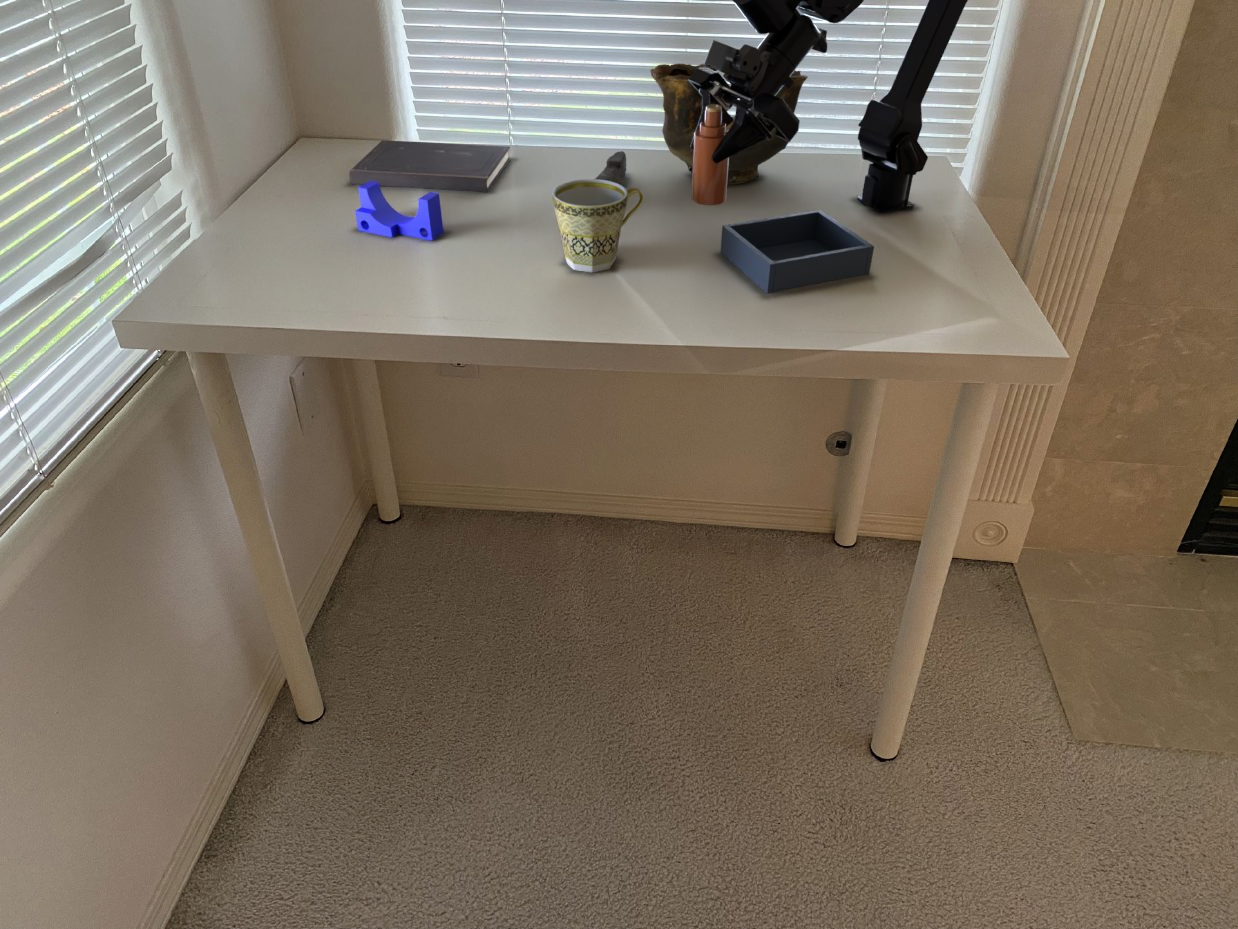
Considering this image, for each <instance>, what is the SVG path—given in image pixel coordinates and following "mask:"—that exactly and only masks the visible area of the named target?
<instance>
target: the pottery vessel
mask: <svg viewBox="0 0 1238 929" xmlns="http://www.w3.org/2000/svg"><path fill="white" fill-rule="evenodd" d="M737 49H738V50H740V48H737ZM701 67H706V68H709V69H711V70H713V71H716V72H718V70H716V69H715V68H714V67H712V66H711V67H708V66H705V65H704V62H703V63H700V64H697V65H692V64H689V63H688V64H686V63H672V64H666V63H663V64H658V65H656V66H655V67H654V68H651V69H650V75H651V77H652V78H653V80H654V81H655V83H656V84H657V85H658V87H659V89H660V90H661V93H662V96H663V97H662V98H663V99H662V101H663V102H662V108H663V111H664V120H663V125H662V130H661V131H662V135H663V139H664V141H665V144H666V147H667V148H668V150H669V151H670V153H671V154H672V155H673V156H675V157H677V158H678V159H679V160H680V161H681V162H684V163H685V164H686V166H687V170H688V171H689V172H690V173H691V175H693V154H694V151H693V150H692V149H691V148H690V145H691V143H692V140H693V137H694V133H695V131H696V128H697V126H698V123H699V120H700V117H701V113H702V109H703V102H702V96H701V95H700V94H699V92H698V91H697V90H696V88H695V87H694V86H693V85H692V84H691V83H690V82H689V78H690V77H691V76H692V74H693V73H694V72H695V70H696V69H697V68H701ZM801 71H802V70H797V71H796V70H795V71H794V72H793V74H792V75H791V76H790V78H791V79H792V80H793V82H794V83H793V85H792V86H791V87H790V88H786V87H784V86H783V87H782V88H781V89H780V91H779V92H778V93H777V94H776V97H778V98H781V99H783V100H784V102H785V103H786V104H787V105H788V107H789V108H790V109H791V110H792V112H793V113H794V114H795V111H796V108H797V105H798V102H799V97H800V93H801V90H802V87H803V85H804V84H805V82H806V80H807V79H808V75H805V74H803V75H802V74H801ZM731 117H732V118H733V119H734V121H735V115H733V116H731ZM734 121H733V122H732V123H730V124H729V125H728V126H727V127H726V130H727V131H729V129H730V128H731V126H732V125H733V123H734ZM775 128H776V127H775ZM775 128H774V129H773V130H772V131H771V133H770V134H771V136H772V139H771V140H768V139H766V140H763V141H761V142H759V143H757V144H754V145H752V146H750V147H748V148H746V149H744V150H742V151H740V152H738V153H736V154H734V155H732V156H730V157H729V165H728V180H727V185H735V184H736V185H739V184H744V183H748V182H751V181H754V180H755V179H758V178H759V176H760V173H759V165H761V164H763V163H766V162H767V161H769V160H770V159H771V158H773V157H774V156H776V155H777V154H779V153H780V152H782V151H783V150H785V149H786V148H787V146H788V144H789V142H787V141H785V140H783V139H781V138H779V137H777V136H776V135H775Z"/></svg>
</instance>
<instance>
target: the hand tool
mask: <svg viewBox="0 0 1238 929" xmlns="http://www.w3.org/2000/svg"><path fill="white" fill-rule="evenodd" d="M626 172H627V155H626V153H625V151H623V150H621V151H617V152H615V153H614V154H612V155H611V156H609V157H608V158H607V159H606V166H605V167H604V168H603V170H602V171H601V172H600V173H599V174H598V175H597V176H596V177H595V178H594V179H599V180H606V181H611V182H615V183H617V184H620V185H622V186H623V185H624V182H625V181H626V180H625V179H626Z"/></svg>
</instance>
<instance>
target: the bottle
mask: <svg viewBox="0 0 1238 929" xmlns="http://www.w3.org/2000/svg"><path fill="white" fill-rule="evenodd" d="M727 132H728V131H727V130H726V124H725V123H723V122H722V106H720V105H717V104H710V105H707V106H706V110H705V121H704V122H702V123H701V124H700V129H699V130H697V131H696V132H695V133H694V154H693V173H692V176H691V177H692V178H691V179H692V180H691V201H692V202H693V203H695V204H697V205H701V206H718V205H722V204H724V203H725V202H726V201H727V196H728V195H727V194H728V184H727V180H728V165H729V157H728V158H726V159H724V160H723V161H721V162H719V163H714V162H713V161H712V159H711V157H712V155H713V154H714V152H715V150H716V148H717V147H718V145H719V144H720V142H721V141H722V139H723V138H724V136H725V135H726V133H727Z"/></svg>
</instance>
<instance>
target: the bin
mask: <svg viewBox="0 0 1238 929" xmlns="http://www.w3.org/2000/svg"><path fill="white" fill-rule="evenodd" d="M874 249H875V246H874V245H873V244H871V243H870V242H868V240H866V239H864V238H863V237H862V236H860V235H858V234H857V233H856V232H854V231H853V230H851V229H849V228H848V227H847V226H845V225H844V224H842V223H841V222H839V221H838V220H836V219H834V218H833V217H832V216H830V215H828V214H827V213H826V212H824V211H823V210H821V209H816V210H810V211H804V212H803V211H802V212H798V213H797V212H796V213H791V214H785V215H778V216H774V217H773V216H772V217H767V218H760V219H753V220H748V221H742V222H735V223H731V224H722V226H721V240H720V254H721V255H722V256H723V257H725V258H726V259H727V260H728V261H729V262H730V263H731V264H732V265H734V266H735V267H736V268H737V269H738V270H739V271H741V273H743V274H744V275H745V276H747V278H749V280H751V281H752V282H753V283H755V285H757V286H758V287H759V288H760V289H761V290H763V292H764V293H766V294H767V295H768V294H772V293H778V292H784V291H788V290H795V289H800V288H805V287H810V286H816V285H821V284H826V283H831V282H837V281H842V280H847V279H853V278H857V277H862V276H863V277H864V276H868V275H870V273H871V272H870V271H871V266H872V261H873V256H874Z"/></svg>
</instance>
